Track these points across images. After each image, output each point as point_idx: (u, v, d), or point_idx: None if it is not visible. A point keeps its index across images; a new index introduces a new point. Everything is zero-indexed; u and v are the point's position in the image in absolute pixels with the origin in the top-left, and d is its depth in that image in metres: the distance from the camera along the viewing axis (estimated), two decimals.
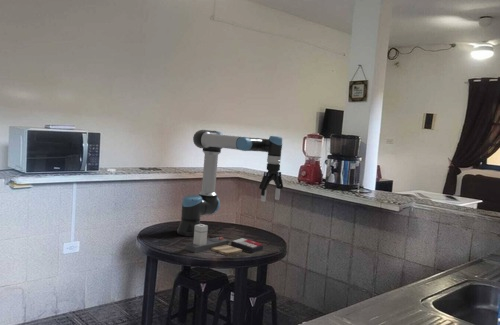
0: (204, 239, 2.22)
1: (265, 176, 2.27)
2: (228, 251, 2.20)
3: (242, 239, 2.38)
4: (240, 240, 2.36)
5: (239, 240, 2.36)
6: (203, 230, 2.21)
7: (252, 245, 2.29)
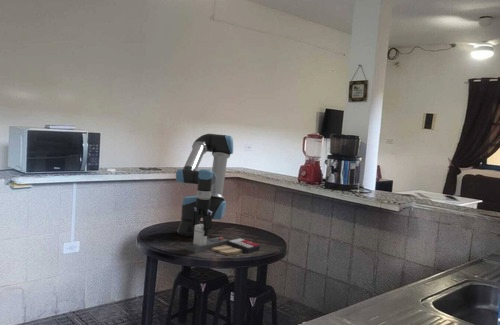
0: None
1: None
2: (228, 251, 2.20)
3: (239, 239, 2.37)
4: (237, 240, 2.35)
5: (236, 240, 2.35)
6: None
7: (248, 245, 2.27)
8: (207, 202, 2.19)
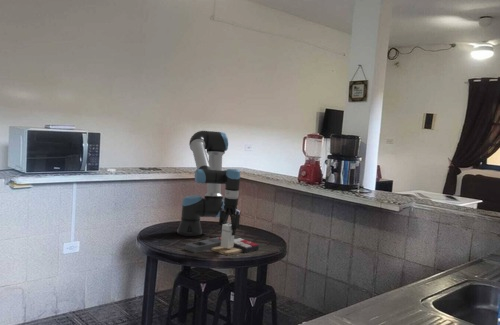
0: None
1: None
2: (228, 251, 2.20)
3: (239, 239, 2.38)
4: (236, 240, 2.36)
5: (235, 240, 2.35)
6: None
7: (246, 245, 2.27)
8: (235, 201, 2.20)
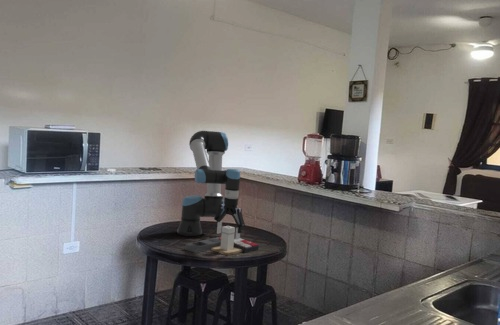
0: (231, 241, 2.23)
1: None
2: (228, 251, 2.20)
3: (239, 239, 2.38)
4: (236, 240, 2.36)
5: (235, 240, 2.35)
6: (231, 232, 2.22)
7: (246, 245, 2.28)
8: (235, 201, 2.20)
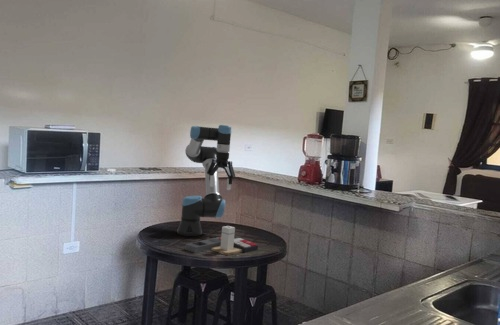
0: (231, 241, 2.23)
1: None
2: (228, 251, 2.20)
3: (239, 239, 2.38)
4: (236, 240, 2.36)
5: (235, 239, 2.36)
6: (231, 232, 2.22)
7: (246, 245, 2.28)
8: (226, 155, 2.36)
